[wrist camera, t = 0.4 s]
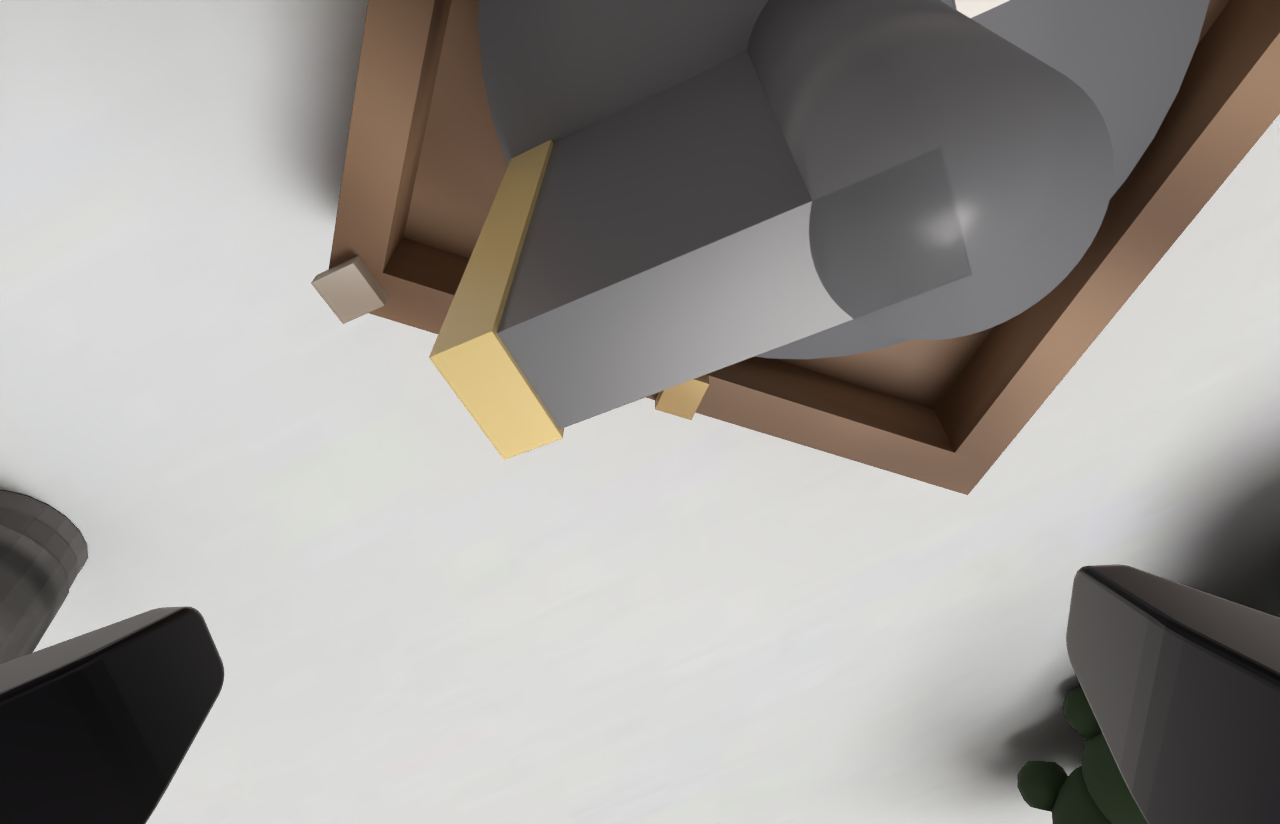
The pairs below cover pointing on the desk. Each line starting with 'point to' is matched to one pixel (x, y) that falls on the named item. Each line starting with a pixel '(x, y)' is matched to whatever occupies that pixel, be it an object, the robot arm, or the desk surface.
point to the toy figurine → (1081, 777)
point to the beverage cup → (33, 570)
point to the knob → (784, 183)
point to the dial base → (763, 387)
